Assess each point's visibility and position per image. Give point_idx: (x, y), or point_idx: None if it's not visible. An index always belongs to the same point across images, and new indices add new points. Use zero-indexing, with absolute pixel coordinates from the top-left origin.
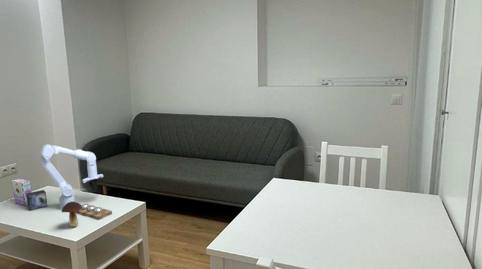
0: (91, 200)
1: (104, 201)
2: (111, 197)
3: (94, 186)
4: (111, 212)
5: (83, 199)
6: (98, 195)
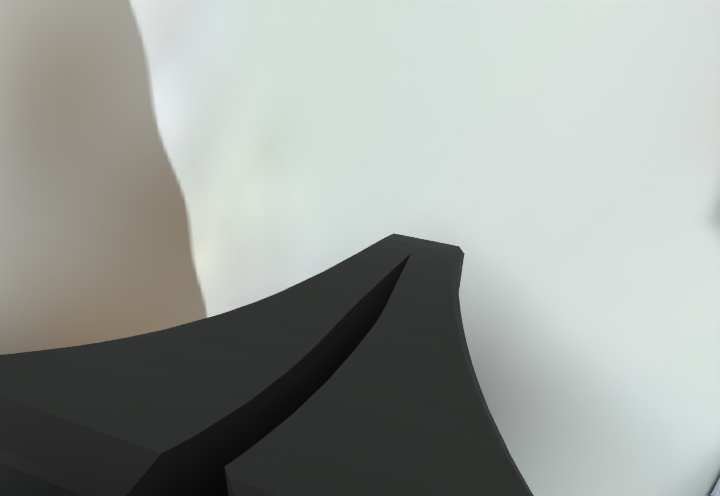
0: None
1: (345, 51)
2: (164, 92)
3: (425, 316)
4: None
5: None
6: None
